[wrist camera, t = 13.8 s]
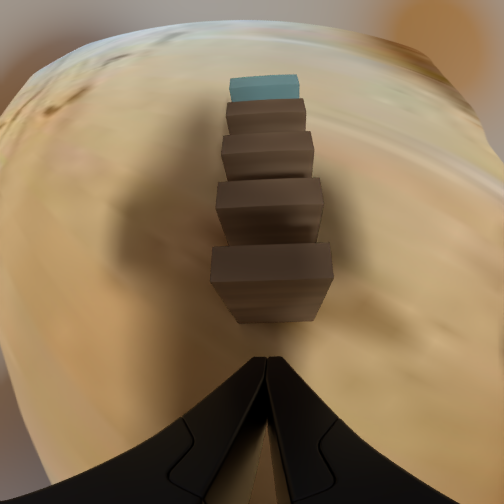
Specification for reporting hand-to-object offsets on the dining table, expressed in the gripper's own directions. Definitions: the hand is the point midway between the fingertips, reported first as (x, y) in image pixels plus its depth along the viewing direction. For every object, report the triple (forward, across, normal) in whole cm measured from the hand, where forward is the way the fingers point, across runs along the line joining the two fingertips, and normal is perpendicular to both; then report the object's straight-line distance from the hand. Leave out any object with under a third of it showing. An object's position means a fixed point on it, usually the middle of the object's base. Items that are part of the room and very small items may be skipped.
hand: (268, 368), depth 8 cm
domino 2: (+16, 0, +1) cm, 16 cm away
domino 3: (+13, 0, -2) cm, 13 cm away
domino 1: (+18, 0, +4) cm, 18 cm away
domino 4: (+10, 0, -4) cm, 11 cm away
